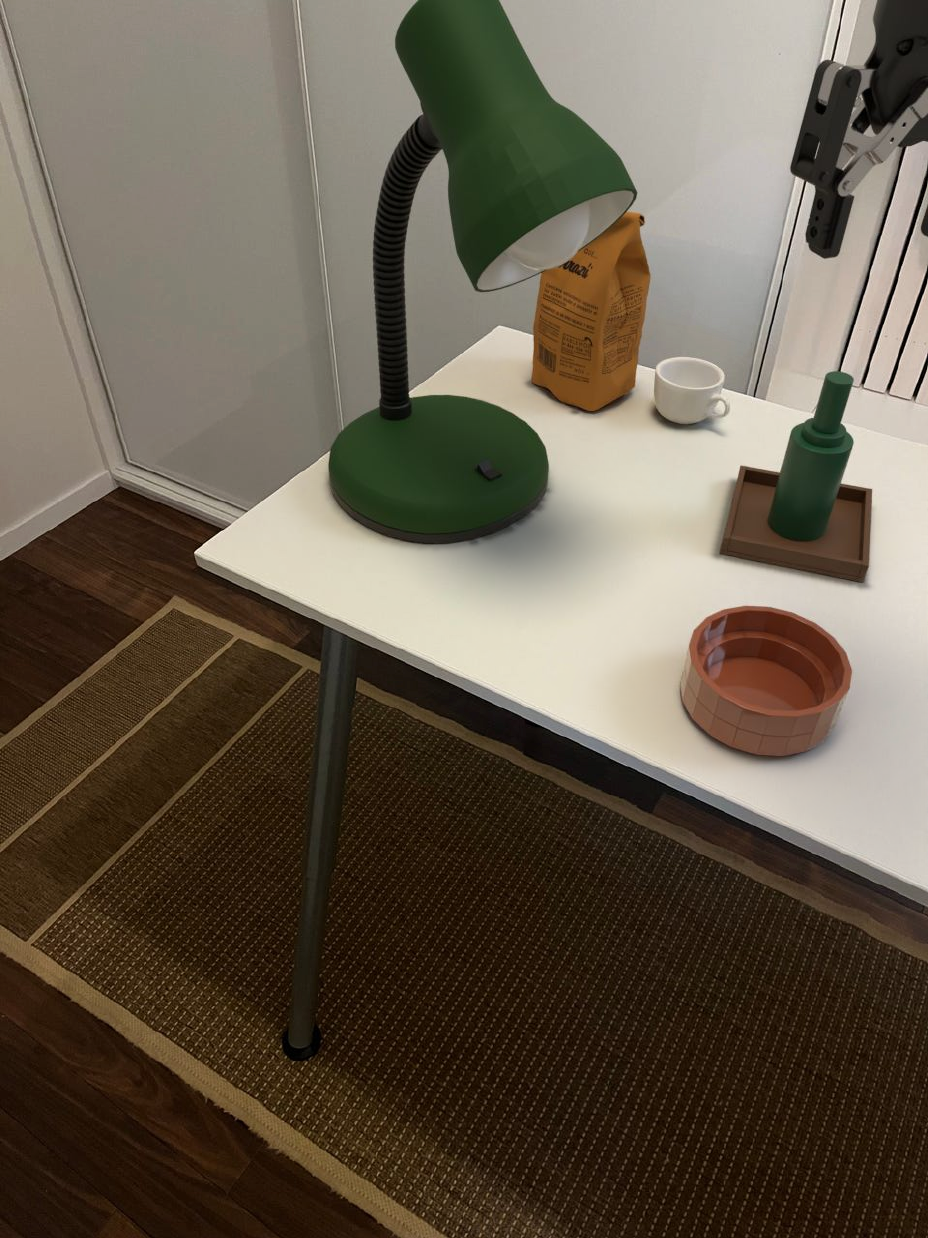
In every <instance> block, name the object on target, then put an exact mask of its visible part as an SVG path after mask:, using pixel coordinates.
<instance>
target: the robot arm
mask: <svg viewBox="0 0 928 1238" xmlns="http://www.w3.org/2000/svg"><path fill="white" fill-rule="evenodd" d="M875 3H876V4H875V7H874V11H873V15H872V23H873V27H874V33H875V35H874V36H875V40H874V44H873V48H872V50H871V51H870V53H869V56H868V58H867V59H866V60H865V62H864V64H862V65H861V64H859V65H855V64H854V65H846V64H843V63H840V62H837V61H834V60H832V59H824V60H822V61H821V62H820V63H819V64H818V65H817V67H816V69H815V72H814V75H813V80H812V83H811V88H810V91H809V95H808V99H807V103H806V106H805V109H804V114H803V117H802V121H801V125H800V128H799V132H798V136H797V140H796V142H795V143H796V144H795V148H794V151H793V155H792V157H791V158H792V159H791V162H790V167H789V171H790V173H791V175H793V176H795V177H797V178H798V179H801V180H802V181H805V182H806V183H808V184H810V185H812V186H814V195H813V199H812V205H811V207H810V212H809V217H808V221H807V226H806V229H805V234H804V237H805V242H806V243H807V244H808V249H809V251H810V252H811V253H814V254H815V255H817V256H818V257H820V258H822V259H824V260H827V259H832V258H833V259H834V258H837V257H839V254H840V253H841V249H842V245H843V241H844V237H845V233H846V230H847V227H848V222H849V218H850V215H851V211H852V207H853V204H854V201H855V195H853V194H852V193H853V192H854V191H855V190H856V188H857V187H858V186H859V185H860V183H861V182H862V181H863V179H864V178H866V176H867V175H868V173H869V172H870V171H871V170H872V169H873V167H874V166H877V165H880V164H883V163H884V162H885V161H887V159H888V158H889V157H890V156H891V154H892V153H893V152H894V151H895V149H897V148H907V147H908V148H909V147H913V146H914V145H917V144H919V143H922V142H926V143H928V0H876V2H875ZM854 108H855V109H854ZM869 127H870V128H871V130H872V132H873V134H874V136H868V135H866V134H865V132H866V131H867V130H868V129H869ZM846 164H847V165H846ZM920 233H921V234H922V235H923V236H925V237H927V238H928V204H927V205H926V209H925V211H924V215H923V218H922V221H921V225H920Z"/></svg>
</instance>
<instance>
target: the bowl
mask: <svg viewBox="0 0 928 1238" xmlns="http://www.w3.org/2000/svg"><path fill="white" fill-rule="evenodd" d="M686 652H687V653H686V657H685V661H684V665H683V670H682V675H681V679H680V682H679V683H680V685H679V687H680V693H681V701H682V704H683V705H684V707H685V709H686V710H687V712H688V714H689V715H690V717H691V719H692V720H693V721H694V722H695V723H696V724H697V725H698V726H699V727H700V728H701V729H702V730H704V732H705V733H707V734H708V735H709V736H710V737H712V738H714V739H715V740H717V741H719V742H721V743H723V744H725V745H726V746H728V747H731V748H733V749H736V750H739V751H743V752H745V753H750V754H753V755H758V756H772V757H773V756H774V757H785V756H790V755H794V754H800V753H804V752H805V753H806V752H808V751H809V750H812V749H813V748H815V747H817V746H818V745H820V744H822V743H824V741H826V739H827V738H828V736H829V735H830V734H831V732H832V731H833V729H834V728H835V726H836V725H837V724H836V723H837V721H838V718H839V716H840V714H841V711H842V709H843V706H844V703H845V701H846V698H847V697H848V694H849V691H850V688H851V684H852V676H853V669H852V666H851V662H850V659H849V657H848V654H847V652H846V651H845V649H844V648H843V647H842V645H841V644H840V643H839V641H838V640H837V639H836V637H835V636H833V635H832V634H831V633H830V632H828V631H826V630H825V629H824V628H823V627H821V626H820V625H819V624H817V623H816V622H814V621H812V620H810V619H809V618H805V617H803V616H802V615H800V614H797V613H795V612H792V611H788V610H784V609H780V608H776V607H771V606H763V605H762V606H760V605H741V606H735V607H729V608H723V609H721V610H719V611H717V612H715V613H713V614H711V615H708V616H706V617H705V618H704V619H703V620H702V621H701V622H700V623H699V624H698V625H697V626H696V627H695V628H694V630H693V632H692V634H691V638H690V640H689V643H688V647H687V651H686Z"/></svg>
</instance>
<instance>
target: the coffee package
mask: <svg viewBox="0 0 928 1238" xmlns="http://www.w3.org/2000/svg"><path fill="white" fill-rule="evenodd" d="M645 223H646V220H645V215H643V214H642V213H639V212H633V211H627V212H626V213H625V214H624V215H623V216H622V217H621V218H620V219H619V220H618V221H617V222H616V223H615V224H614V225H612V226H611V227H610V228H609V229H608V230H607V231H605V232H604V233H603V234H602V235H600V236H599V237H598V238H597V239H595V240H594V241H593V242H591V243H590V244H589V245H587V246H586V247H584V248H583V249H581V250H580V251H579V252H577V253H576V254H575V256H574V257H573V258H572V259H571V260H569V261H567V262H566V263H564V264H562V265H561V266H559V267H557V268H554V269H548V270H546V271H544V272H542V273H540V279H539V288H538V294H537V299H536V308H535V314H534V320H533V326H532V332H533V335H532V336H533V337H532V338H533V351H532V371H531V372H532V374H531V383H532V384H534V385H537V386H539V387H542V388H545V389H547V390H549V391H550V392H551V394H553V396H554V397H555V398H556V399H557V400H558V401H560V402H562V403H564V404H567V405H570V406H575V407H577V408H581V409H583V410H585V411H587V412H594V411H598V410H600V409H601V408H602V407H604V406H606V405H608V404H610V403H612V402H613V401H616V400H617V399H618V398H620V397H622V396H625V395H627V394H629V393H630V392H631V391H632V390H633V389H634V388H635V387H636V378H637V370H638V365H639V353H640V352H639V350H640V345H641V340H642V337H643V326H644V323H645V317H646V310H647V300H648V296H649V290H650V284H651V278H652V277H651V271H650V266H649V264H648V259H647V256H646V255H647V254H646V250H645V247H644V245H643V240H642V236H641V227H644V226H645Z"/></svg>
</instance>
